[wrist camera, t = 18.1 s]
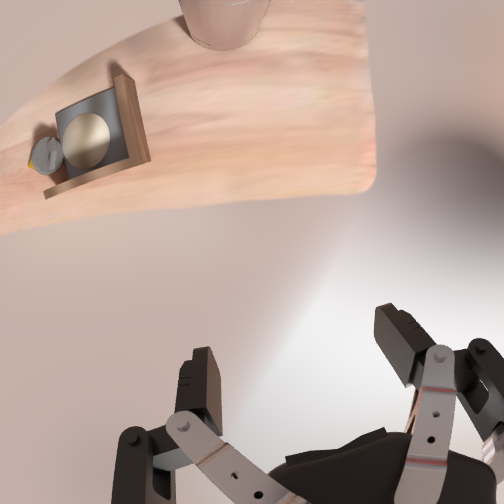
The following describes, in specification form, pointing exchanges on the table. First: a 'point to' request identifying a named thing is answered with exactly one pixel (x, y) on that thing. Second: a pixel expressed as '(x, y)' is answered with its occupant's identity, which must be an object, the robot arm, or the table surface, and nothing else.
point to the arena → (101, 136)
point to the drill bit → (46, 156)
